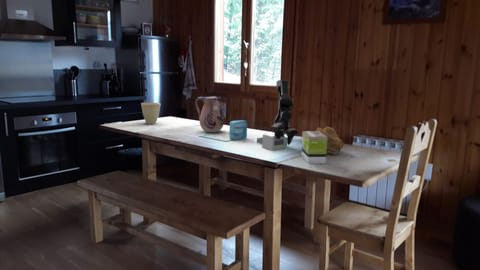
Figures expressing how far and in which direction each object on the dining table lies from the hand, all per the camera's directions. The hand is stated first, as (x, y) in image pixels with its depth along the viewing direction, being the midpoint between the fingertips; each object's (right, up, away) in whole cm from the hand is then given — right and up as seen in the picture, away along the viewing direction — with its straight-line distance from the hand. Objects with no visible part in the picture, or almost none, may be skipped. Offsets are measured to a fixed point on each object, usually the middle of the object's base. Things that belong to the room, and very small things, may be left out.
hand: (283, 143), depth 236 cm
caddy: (-4, -3, -2) cm, 5 cm away
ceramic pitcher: (-49, +8, +43) cm, 66 cm away
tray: (-6, 0, +12) cm, 13 cm away
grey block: (-5, -3, -3) cm, 7 cm away
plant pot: (-98, +14, +69) cm, 120 cm away
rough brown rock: (+25, -6, -12) cm, 28 cm away
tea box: (+13, -9, -29) cm, 33 cm away
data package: (-28, +2, +20) cm, 35 cm away
